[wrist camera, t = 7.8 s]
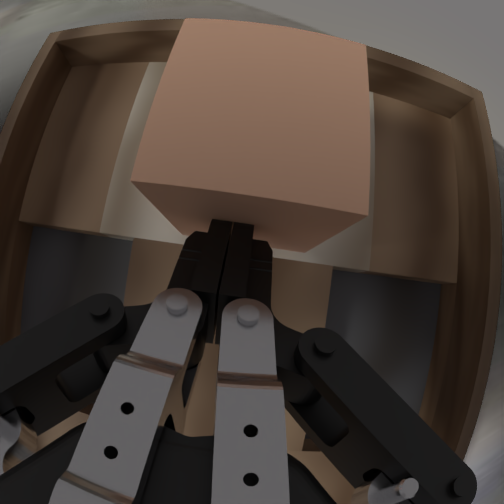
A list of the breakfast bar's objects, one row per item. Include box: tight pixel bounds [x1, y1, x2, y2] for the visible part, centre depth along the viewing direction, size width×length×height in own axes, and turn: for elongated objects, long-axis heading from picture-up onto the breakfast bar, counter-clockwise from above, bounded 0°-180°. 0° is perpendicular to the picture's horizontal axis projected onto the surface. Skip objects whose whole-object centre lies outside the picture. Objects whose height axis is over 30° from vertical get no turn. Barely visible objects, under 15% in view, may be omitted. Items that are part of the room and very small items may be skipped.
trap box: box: [0, 19, 502, 504], centre depth 14 cm, size 28×36×5 cm
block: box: [130, 18, 370, 253], centre depth 12 cm, size 6×6×8 cm
